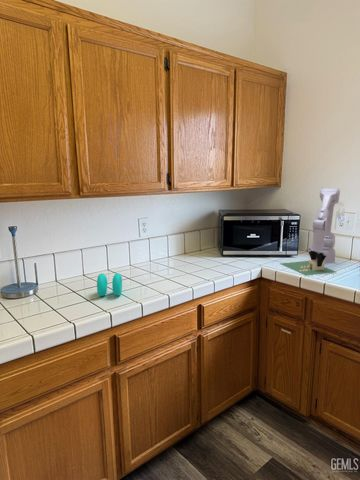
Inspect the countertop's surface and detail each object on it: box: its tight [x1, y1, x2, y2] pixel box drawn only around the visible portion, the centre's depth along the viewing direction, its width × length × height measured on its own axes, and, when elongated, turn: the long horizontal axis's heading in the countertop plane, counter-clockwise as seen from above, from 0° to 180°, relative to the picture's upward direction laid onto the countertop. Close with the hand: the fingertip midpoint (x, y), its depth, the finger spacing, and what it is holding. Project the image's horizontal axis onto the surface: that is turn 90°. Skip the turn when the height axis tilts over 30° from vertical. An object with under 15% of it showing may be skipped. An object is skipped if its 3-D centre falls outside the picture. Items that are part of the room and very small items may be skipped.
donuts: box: [96, 272, 123, 297], centre depth 149 cm, size 10×10×10 cm
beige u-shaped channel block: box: [308, 259, 325, 271], centre depth 186 cm, size 7×4×5 cm, turn 107°
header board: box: [279, 260, 337, 277], centre depth 190 cm, size 20×24×3 cm
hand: (316, 265), depth 186 cm, fingers closed on beige u-shaped channel block, 4 cm apart
